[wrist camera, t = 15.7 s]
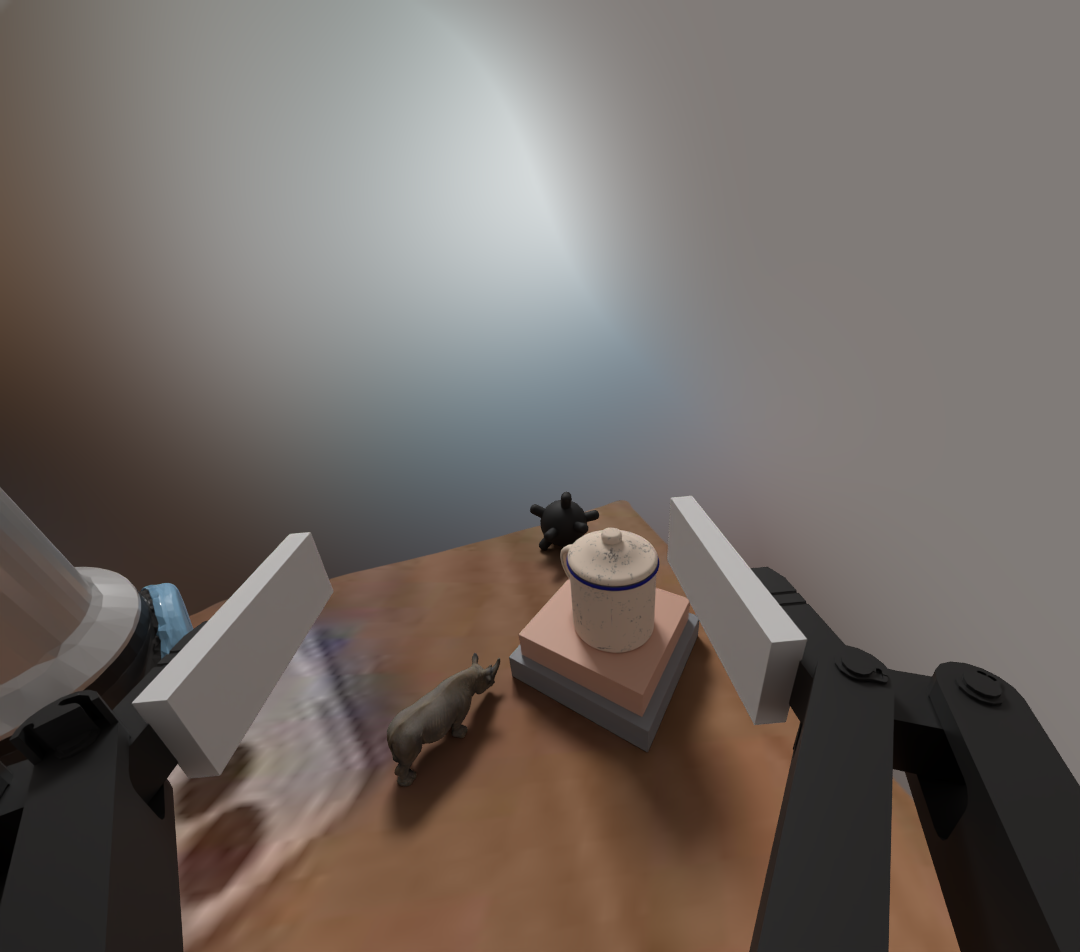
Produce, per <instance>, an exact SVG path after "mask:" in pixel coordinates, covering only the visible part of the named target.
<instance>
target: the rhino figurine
mask: <svg viewBox="0 0 1080 952" xmlns="http://www.w3.org/2000/svg"><path fill="white" fill-rule="evenodd" d="M477 663H478V656H477V654H476V653H474V655H473V657H472V666H471V667H470V668H468V669H466V670H463V671H461V672H459V673H457V674H455V675H453V676H451V677H449V678H448V679H446V680H444V681H443V682H441V683H440V684H439V685H438V686H437V687H436V688H435V689H434V690H432V691H431V692H429V693H428V694H426V695H425V696H423V697H422V698H421V699H419V700H418V701H417V702H416V703H414V704H413V705H412V706H410V707H408V708H406V709H404V710H402V711H401V712H400V713H399V714H397V715H396V717H395V718H394V719H393V720H392V722H391V723H390V725H389V727H388V730H387V741H388V746H389V748H390V750H391V752H392V755H393V760H394V761H395V762H398V763H399V764H398V766H397V767H396V769H395V775H398V776H399V777H398V781H397V782H398V784H399V785H400V786H409V785H411V784H412V782H413V780H414V779H415V778H416V772H414V771H413V770H411V769H410V766H411V764H412V763H413V761H414V760H415V759H416V757H417V756H418V754H419V753H420V752H421V749H422V744H425V743H433V742H436V741H438V740H440V739H441V738H443V737H444V736H445V735H446V734H447V732H448V731H449V729H450V727H451V726H452V736H454V737H459V738H463V737H464V736H465V733H466V732H467V730H468V729H467V727H466V726H464V725H461V723H462V722H463V720H464V719H465V717H466V715H467V713H468V711H469V708H470V705H471V699H472V696H473V695H474V693H477V694H481V693H483V692H484V691H485V690H486V689H488V688H489V687H490V686H492V685H493V684H494V683H495V681H494V678H495V675H496V673H497V670H498V668H499V665H500V658H498V660H497V662H496V664H495V665H494V666H493V667H492V665H490V666H489V667H488V668H486V669H485V670H484V669H483V668H482V667H481V666H480V665H478V664H477Z"/></svg>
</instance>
